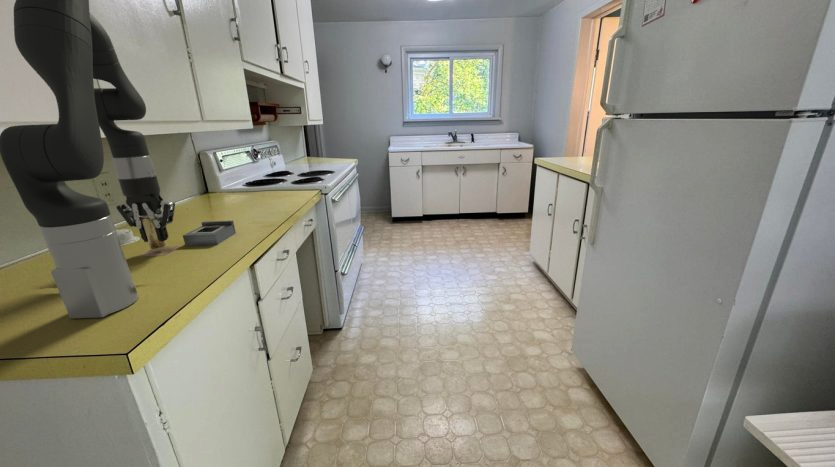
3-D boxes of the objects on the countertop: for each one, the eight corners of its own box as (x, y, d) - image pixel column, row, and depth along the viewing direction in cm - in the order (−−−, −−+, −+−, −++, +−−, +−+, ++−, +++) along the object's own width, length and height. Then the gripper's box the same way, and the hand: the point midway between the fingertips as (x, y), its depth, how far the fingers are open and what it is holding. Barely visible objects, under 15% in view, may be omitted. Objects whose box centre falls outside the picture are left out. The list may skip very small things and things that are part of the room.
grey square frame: (218, 247, 94) (214, 230, 93) (186, 249, 94) (181, 232, 93) (236, 236, 104) (233, 220, 102) (207, 237, 104) (203, 221, 102)
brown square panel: (165, 259, 88) (164, 255, 87) (138, 260, 88) (137, 256, 88) (182, 249, 94) (181, 245, 94) (157, 250, 94) (156, 246, 94)
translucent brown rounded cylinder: (159, 248, 89) (151, 218, 86) (146, 249, 89) (137, 219, 86) (168, 244, 92) (160, 215, 89) (156, 244, 92) (147, 215, 89)
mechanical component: (93, 248, 99) (101, 255, 93) (87, 234, 97) (96, 240, 91) (135, 238, 106) (145, 244, 100) (130, 225, 105) (141, 230, 99)
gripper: (95, 178, 81) (118, 246, 86) (154, 176, 81) (173, 244, 86) (121, 174, 88) (140, 237, 93) (175, 172, 88) (191, 235, 93)
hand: (156, 240), depth 90 cm, fingers closed on translucent brown rounded cylinder, 3 cm apart
